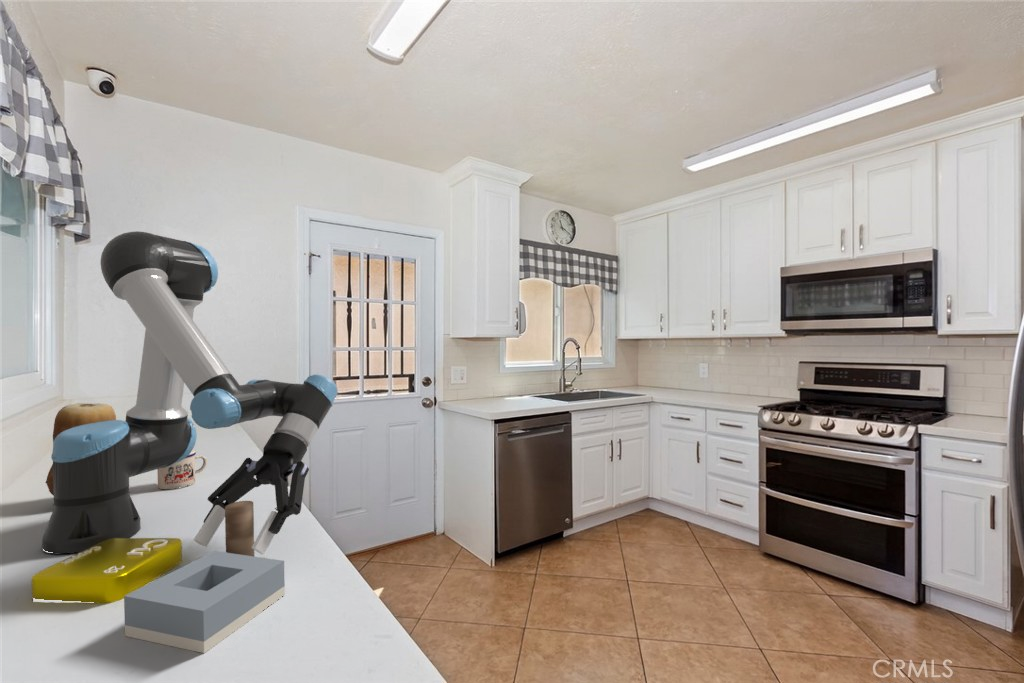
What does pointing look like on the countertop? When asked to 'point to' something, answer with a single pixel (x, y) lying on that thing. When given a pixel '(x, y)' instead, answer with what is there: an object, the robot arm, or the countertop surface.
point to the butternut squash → (78, 422)
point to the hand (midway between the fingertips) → (228, 547)
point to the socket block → (203, 600)
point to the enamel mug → (180, 472)
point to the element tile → (107, 570)
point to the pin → (239, 528)
